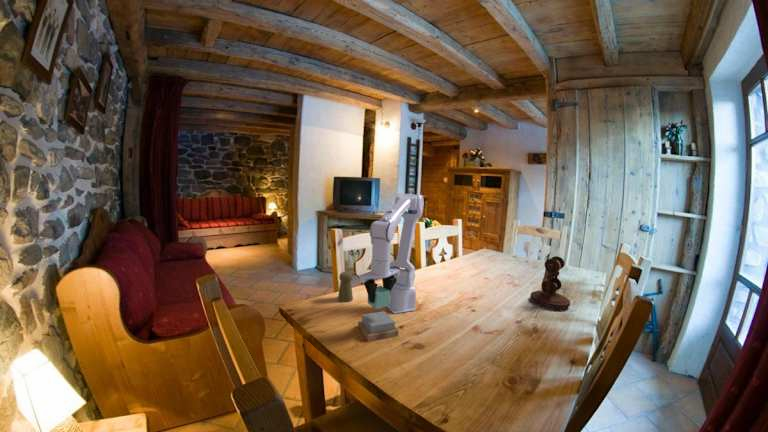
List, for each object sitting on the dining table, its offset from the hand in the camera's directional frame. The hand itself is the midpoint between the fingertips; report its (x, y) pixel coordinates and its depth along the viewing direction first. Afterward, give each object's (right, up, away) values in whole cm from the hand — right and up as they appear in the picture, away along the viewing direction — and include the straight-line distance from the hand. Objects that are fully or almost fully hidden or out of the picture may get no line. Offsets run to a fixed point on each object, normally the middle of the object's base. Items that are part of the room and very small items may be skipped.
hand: (378, 300), depth 97 cm
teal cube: (0, -1, 0) cm, 2 cm away
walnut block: (0, -11, +1) cm, 11 cm away
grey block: (0, -9, +1) cm, 9 cm away
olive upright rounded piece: (-14, -7, +25) cm, 29 cm away
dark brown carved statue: (+72, -10, +31) cm, 79 cm away
